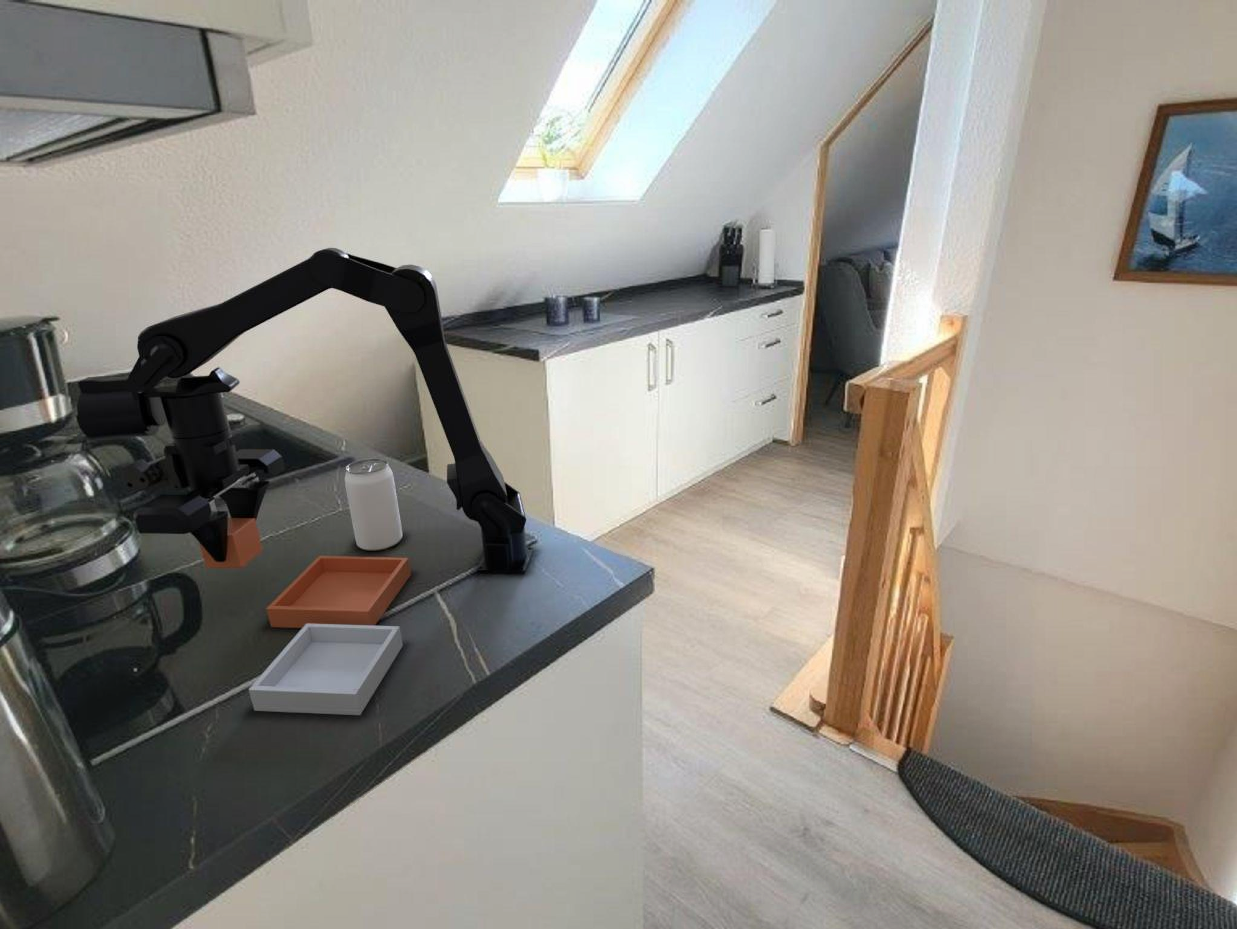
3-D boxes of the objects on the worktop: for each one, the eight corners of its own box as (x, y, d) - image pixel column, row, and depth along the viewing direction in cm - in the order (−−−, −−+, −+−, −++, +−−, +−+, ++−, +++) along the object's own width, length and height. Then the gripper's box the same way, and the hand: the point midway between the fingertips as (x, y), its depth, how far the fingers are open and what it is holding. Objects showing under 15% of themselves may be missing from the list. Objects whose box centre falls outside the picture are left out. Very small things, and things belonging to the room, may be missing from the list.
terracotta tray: (322, 572, 87) (319, 555, 86) (411, 574, 86) (408, 557, 85) (270, 627, 76) (266, 608, 75) (371, 630, 75) (368, 611, 74)
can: (408, 530, 98) (396, 456, 94) (396, 551, 92) (383, 473, 88) (365, 531, 98) (351, 457, 94) (350, 553, 92) (334, 474, 88)
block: (229, 549, 82) (220, 517, 81) (263, 550, 82) (255, 518, 80) (205, 567, 78) (196, 534, 77) (241, 568, 78) (232, 535, 76)
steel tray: (310, 642, 73) (306, 623, 72) (403, 645, 72) (399, 626, 71) (254, 711, 63) (248, 689, 62) (360, 715, 62) (355, 694, 61)
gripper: (190, 406, 83) (220, 516, 89) (64, 459, 66) (111, 591, 72) (273, 407, 82) (298, 517, 88) (167, 461, 65) (207, 594, 71)
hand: (233, 551), depth 80 cm, fingers closed on block, 4 cm apart
